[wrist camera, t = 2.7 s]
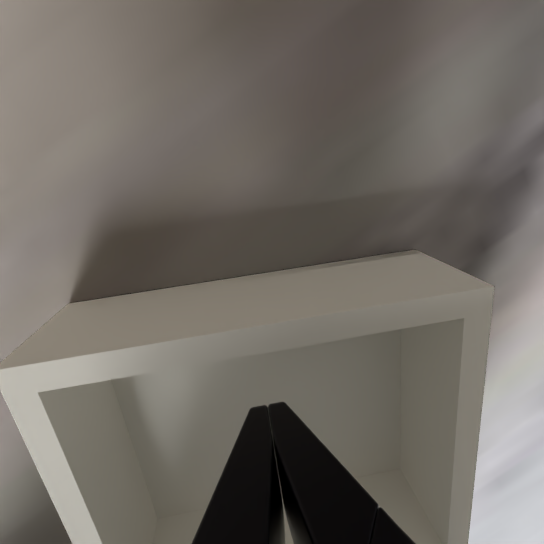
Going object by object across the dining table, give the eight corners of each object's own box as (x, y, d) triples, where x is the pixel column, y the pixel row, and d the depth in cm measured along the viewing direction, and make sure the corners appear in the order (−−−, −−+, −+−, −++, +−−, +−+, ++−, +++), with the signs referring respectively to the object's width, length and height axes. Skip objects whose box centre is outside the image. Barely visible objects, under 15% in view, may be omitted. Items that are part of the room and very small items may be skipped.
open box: (411, 468, 20) (466, 561, 16) (146, 524, 19) (119, 642, 14) (415, 249, 16) (494, 286, 11) (68, 303, 15) (-9, 371, 10)
